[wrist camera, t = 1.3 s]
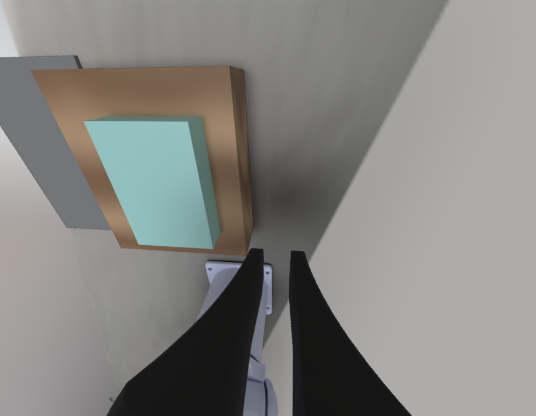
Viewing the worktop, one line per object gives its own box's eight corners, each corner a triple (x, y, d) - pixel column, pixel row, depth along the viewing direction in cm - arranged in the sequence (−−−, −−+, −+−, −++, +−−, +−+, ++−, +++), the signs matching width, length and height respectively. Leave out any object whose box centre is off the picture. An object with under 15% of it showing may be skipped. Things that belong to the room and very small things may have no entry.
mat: (146, 230, 23) (145, 231, 23) (68, 226, 24) (66, 227, 24) (76, 56, 15) (73, 55, 15) (-39, 58, 16) (-44, 58, 16)
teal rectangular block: (220, 232, 17) (213, 249, 16) (153, 229, 18) (138, 244, 16) (201, 116, 13) (187, 121, 11) (110, 116, 13) (83, 121, 11)
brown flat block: (253, 228, 22) (246, 255, 18) (146, 223, 23) (121, 248, 19) (243, 69, 14) (229, 66, 11) (87, 72, 16) (29, 69, 12)
